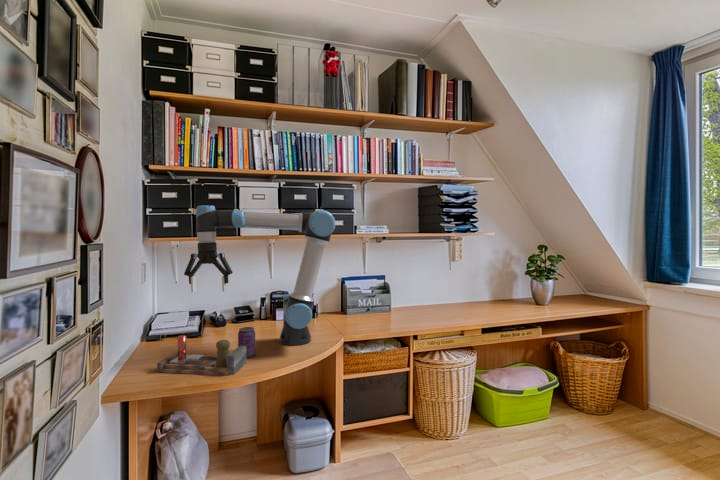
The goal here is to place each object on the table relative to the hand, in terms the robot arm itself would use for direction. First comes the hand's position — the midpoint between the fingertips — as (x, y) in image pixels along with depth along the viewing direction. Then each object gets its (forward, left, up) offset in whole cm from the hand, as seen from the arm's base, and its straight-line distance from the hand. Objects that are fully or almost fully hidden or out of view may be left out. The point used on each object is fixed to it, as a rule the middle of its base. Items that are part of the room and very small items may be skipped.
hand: (209, 291), depth 164 cm
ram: (+2, +13, -27) cm, 30 cm away
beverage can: (-16, -1, -28) cm, 32 cm away
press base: (-4, +13, -28) cm, 31 cm away
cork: (-12, +13, -28) cm, 33 cm away
